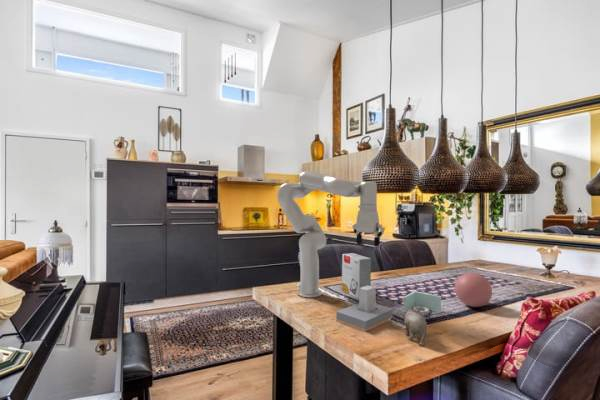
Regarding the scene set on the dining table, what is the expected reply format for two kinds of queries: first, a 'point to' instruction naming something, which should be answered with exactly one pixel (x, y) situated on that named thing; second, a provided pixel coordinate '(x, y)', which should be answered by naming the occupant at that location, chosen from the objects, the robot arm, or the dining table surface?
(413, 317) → the elephant figurine
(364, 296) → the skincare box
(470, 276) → the dusty rose ball
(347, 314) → the pocket block
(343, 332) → the dining table surface
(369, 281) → the hard drive box
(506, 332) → the dining table surface
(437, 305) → the right angle wall
